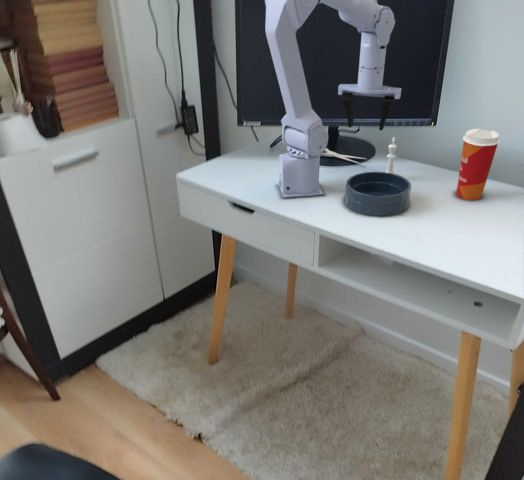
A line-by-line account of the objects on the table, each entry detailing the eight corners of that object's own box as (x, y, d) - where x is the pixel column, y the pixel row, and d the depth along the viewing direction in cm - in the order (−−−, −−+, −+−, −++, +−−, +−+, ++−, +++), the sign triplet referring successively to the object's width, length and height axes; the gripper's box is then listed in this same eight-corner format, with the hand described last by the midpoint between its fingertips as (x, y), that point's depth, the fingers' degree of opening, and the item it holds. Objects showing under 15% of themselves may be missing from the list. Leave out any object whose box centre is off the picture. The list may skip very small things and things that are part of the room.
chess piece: (397, 174, 137) (403, 134, 130) (399, 182, 133) (405, 141, 127) (377, 174, 137) (382, 133, 131) (379, 182, 133) (384, 140, 127)
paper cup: (456, 186, 131) (468, 125, 122) (489, 192, 127) (504, 130, 119) (447, 198, 125) (459, 136, 116) (481, 205, 122) (497, 141, 113)
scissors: (312, 141, 155) (376, 154, 145) (312, 144, 155) (376, 157, 146) (291, 153, 148) (357, 167, 139) (291, 155, 149) (357, 170, 139)
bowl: (353, 218, 118) (355, 199, 116) (338, 192, 129) (339, 173, 127) (417, 213, 120) (420, 194, 117) (396, 188, 131) (399, 169, 128)
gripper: (406, 64, 126) (398, 125, 134) (345, 60, 130) (341, 120, 139) (401, 71, 121) (393, 134, 129) (337, 67, 125) (333, 128, 134)
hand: (365, 127), depth 134 cm, fingers open, 7 cm apart
